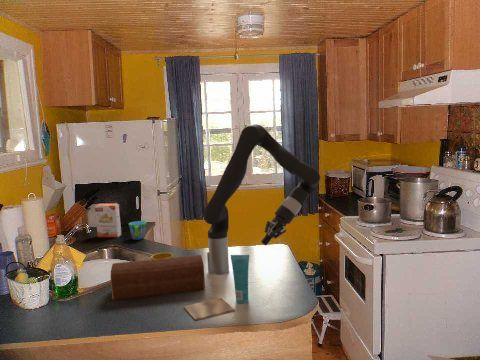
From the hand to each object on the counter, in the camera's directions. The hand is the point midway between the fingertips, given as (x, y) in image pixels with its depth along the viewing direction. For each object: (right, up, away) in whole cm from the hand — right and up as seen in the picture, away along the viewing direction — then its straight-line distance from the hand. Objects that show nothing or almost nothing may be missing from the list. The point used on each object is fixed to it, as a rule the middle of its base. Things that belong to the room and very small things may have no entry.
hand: (263, 243), depth 183 cm
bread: (-45, -23, +15) cm, 52 cm away
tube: (-9, -23, -1) cm, 25 cm away
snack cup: (-73, -11, +101) cm, 125 cm away
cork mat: (-21, -24, -8) cm, 33 cm away
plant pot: (-46, -20, +32) cm, 60 cm away
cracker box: (-94, -11, +110) cm, 145 cm away
